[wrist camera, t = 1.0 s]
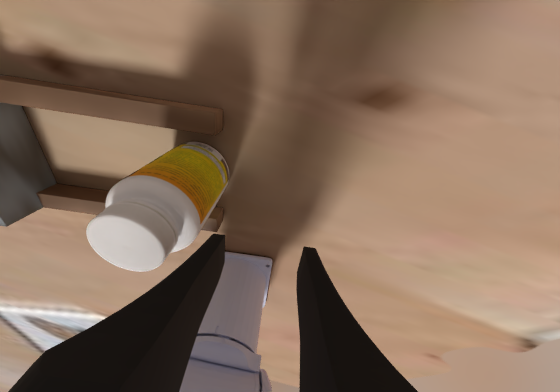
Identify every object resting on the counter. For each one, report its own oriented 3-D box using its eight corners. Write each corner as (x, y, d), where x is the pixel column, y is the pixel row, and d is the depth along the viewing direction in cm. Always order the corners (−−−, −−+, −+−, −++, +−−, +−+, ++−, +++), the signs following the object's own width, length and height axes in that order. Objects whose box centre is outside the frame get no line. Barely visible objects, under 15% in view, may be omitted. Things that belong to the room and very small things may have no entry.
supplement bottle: (180, 127, 18) (67, 179, 9) (240, 158, 19) (193, 232, 10) (165, 179, 20) (67, 259, 11) (219, 203, 21) (166, 294, 12)
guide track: (222, 220, 22) (205, 254, 18) (43, 194, 22) (-18, 223, 18) (222, 109, 17) (198, 120, 12) (-18, 71, 16) (-131, 69, 12)
